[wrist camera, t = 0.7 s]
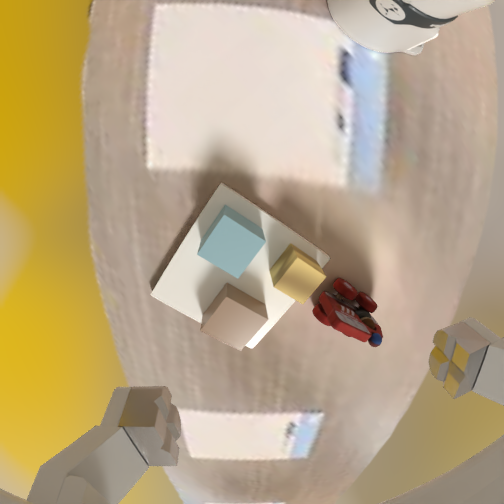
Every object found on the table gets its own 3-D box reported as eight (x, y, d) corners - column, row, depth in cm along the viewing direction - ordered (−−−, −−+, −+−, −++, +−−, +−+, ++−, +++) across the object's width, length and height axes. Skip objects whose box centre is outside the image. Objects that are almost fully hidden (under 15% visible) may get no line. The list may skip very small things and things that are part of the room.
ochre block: (290, 243, 41) (297, 257, 37) (316, 261, 43) (326, 276, 38) (269, 270, 43) (273, 287, 38) (295, 286, 44) (302, 304, 40)
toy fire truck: (354, 330, 50) (375, 369, 40) (302, 302, 47) (317, 343, 37) (379, 301, 48) (405, 337, 38) (328, 269, 45) (351, 305, 35)
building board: (221, 182, 39) (219, 189, 34) (328, 255, 44) (339, 270, 39) (152, 291, 44) (144, 309, 40) (251, 344, 49) (253, 365, 45)
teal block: (225, 204, 39) (224, 214, 34) (262, 228, 40) (266, 241, 36) (201, 240, 40) (197, 254, 36) (237, 262, 42) (238, 278, 37)
